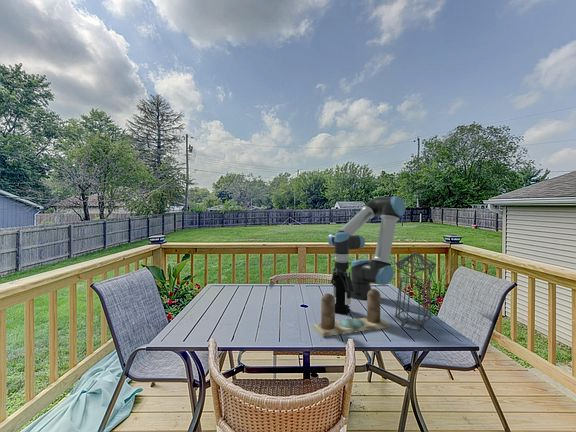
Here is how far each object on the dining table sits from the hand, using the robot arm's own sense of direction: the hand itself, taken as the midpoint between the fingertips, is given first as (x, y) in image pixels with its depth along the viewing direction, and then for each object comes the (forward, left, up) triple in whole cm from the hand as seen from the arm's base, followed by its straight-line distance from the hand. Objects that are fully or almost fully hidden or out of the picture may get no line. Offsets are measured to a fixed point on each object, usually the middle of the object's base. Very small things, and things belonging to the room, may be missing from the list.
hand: (341, 300), depth 162 cm
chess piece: (0, 0, -6) cm, 6 cm away
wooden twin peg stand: (+7, +22, -6) cm, 24 cm away
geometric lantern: (-22, +30, -6) cm, 38 cm away
